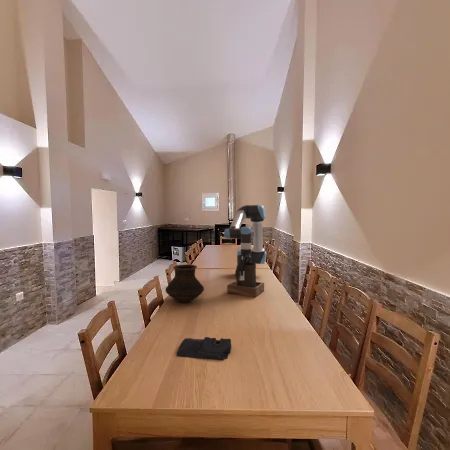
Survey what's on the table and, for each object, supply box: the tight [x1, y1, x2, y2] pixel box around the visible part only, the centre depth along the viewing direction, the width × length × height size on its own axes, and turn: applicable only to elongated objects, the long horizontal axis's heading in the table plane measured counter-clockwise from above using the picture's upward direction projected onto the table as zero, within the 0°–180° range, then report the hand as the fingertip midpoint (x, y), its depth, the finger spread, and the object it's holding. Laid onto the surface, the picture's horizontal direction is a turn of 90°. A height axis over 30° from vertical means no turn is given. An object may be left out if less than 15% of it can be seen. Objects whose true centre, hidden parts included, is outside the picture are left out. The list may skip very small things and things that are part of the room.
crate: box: [226, 279, 265, 298], centre depth 205 cm, size 17×21×6 cm
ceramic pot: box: [165, 264, 205, 303], centre depth 185 cm, size 24×24×22 cm
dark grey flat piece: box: [176, 336, 232, 362], centre depth 119 cm, size 15×22×5 cm
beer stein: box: [234, 263, 257, 288], centre depth 203 cm, size 15×11×20 cm
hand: (246, 278), depth 204 cm, fingers open, 13 cm apart
